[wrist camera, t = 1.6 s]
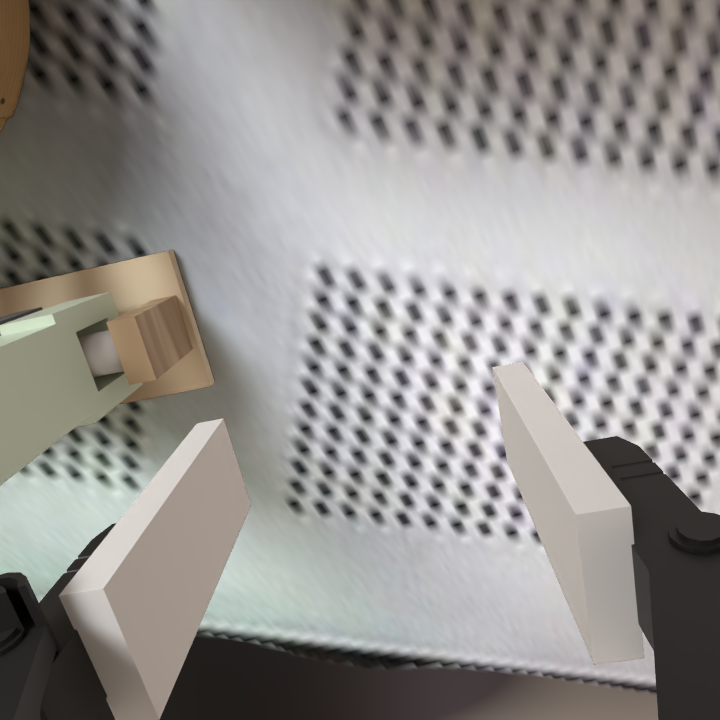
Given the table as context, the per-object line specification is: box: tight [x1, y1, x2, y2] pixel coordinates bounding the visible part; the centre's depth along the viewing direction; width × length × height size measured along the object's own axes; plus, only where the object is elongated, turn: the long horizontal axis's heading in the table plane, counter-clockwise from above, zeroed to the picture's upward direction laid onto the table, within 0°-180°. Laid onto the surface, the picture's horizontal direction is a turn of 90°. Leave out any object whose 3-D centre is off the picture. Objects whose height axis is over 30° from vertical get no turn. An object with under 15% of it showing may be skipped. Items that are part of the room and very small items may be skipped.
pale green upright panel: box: [0, 292, 143, 485], centre depth 27 cm, size 3×6×16 cm, turn 12°
